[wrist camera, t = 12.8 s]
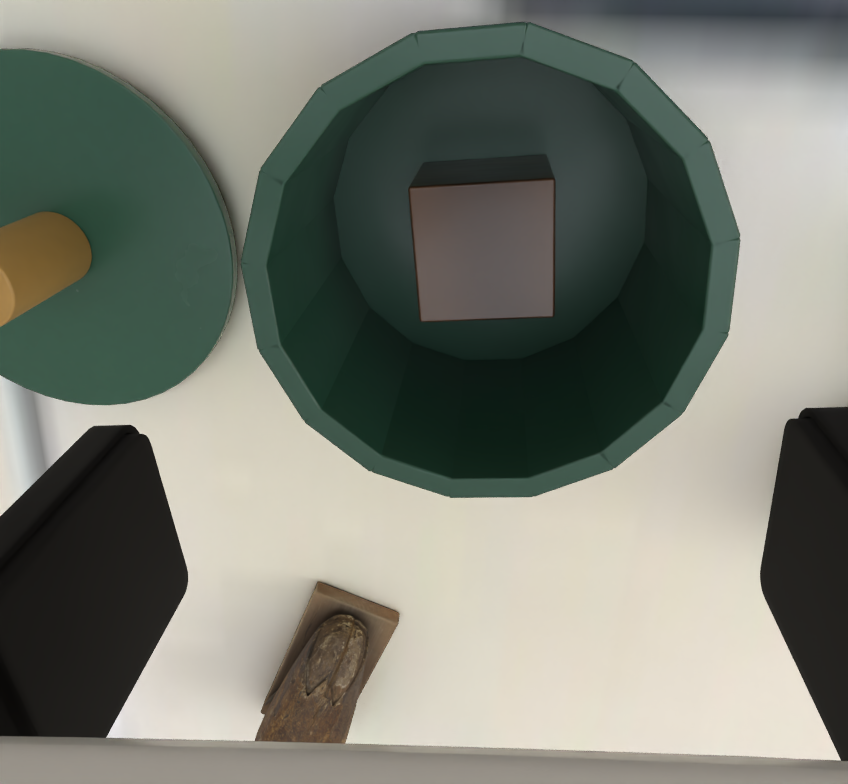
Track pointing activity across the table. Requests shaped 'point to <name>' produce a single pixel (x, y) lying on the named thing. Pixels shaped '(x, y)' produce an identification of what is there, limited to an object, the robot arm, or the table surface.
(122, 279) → the lid
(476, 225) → the block
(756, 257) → the table surface
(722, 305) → the tin
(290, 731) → the figurine
